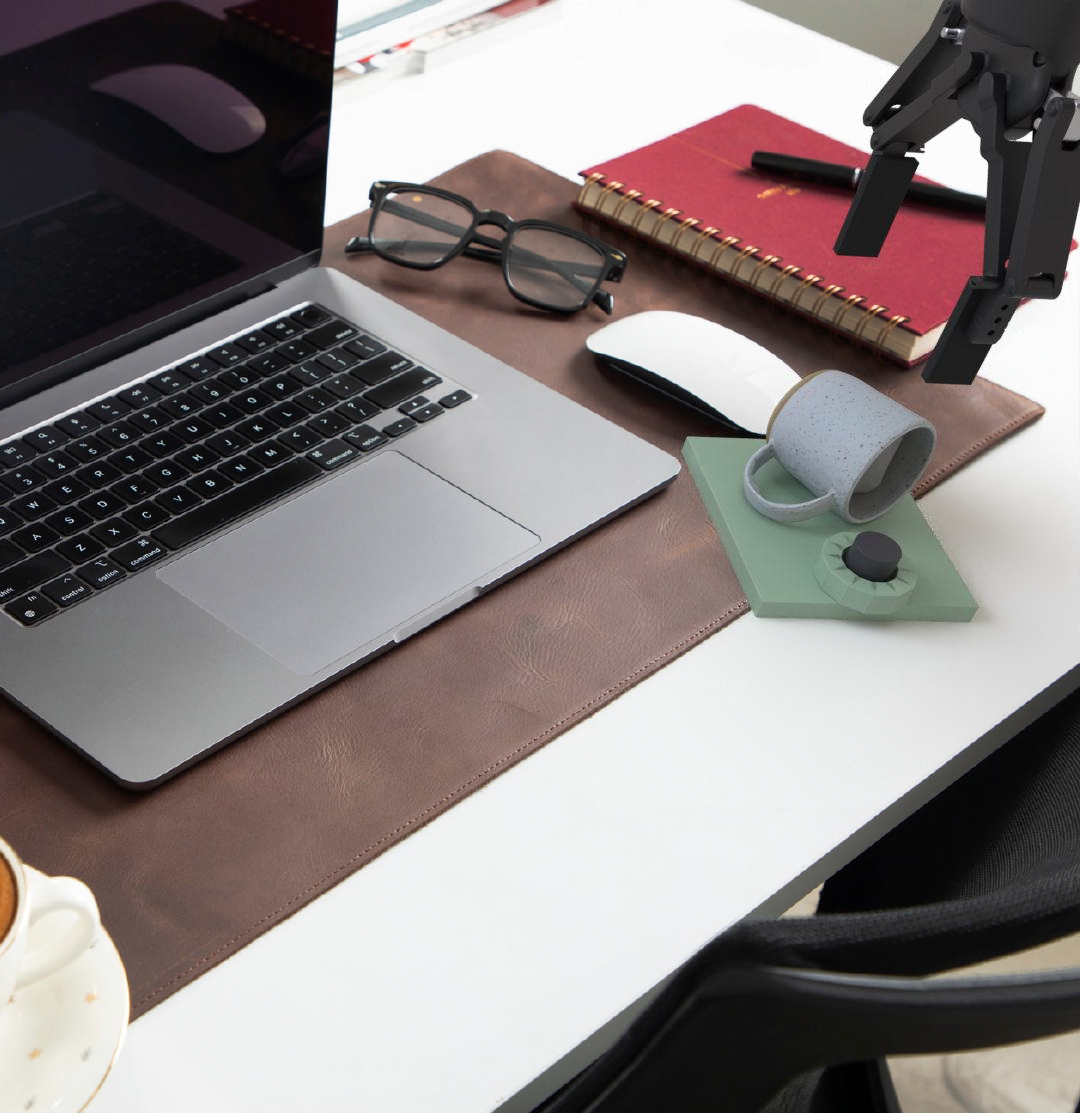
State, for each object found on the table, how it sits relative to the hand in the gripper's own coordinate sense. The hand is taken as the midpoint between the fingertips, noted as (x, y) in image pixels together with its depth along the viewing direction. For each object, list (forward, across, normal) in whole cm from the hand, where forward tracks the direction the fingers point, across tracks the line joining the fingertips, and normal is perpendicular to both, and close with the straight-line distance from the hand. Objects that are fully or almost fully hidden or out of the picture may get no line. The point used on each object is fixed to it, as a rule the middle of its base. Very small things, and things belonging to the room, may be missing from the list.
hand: (897, 313), depth 87 cm
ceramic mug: (+14, 0, 0) cm, 14 cm away
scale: (+15, +2, 0) cm, 16 cm away
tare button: (+13, +9, 0) cm, 15 cm away
